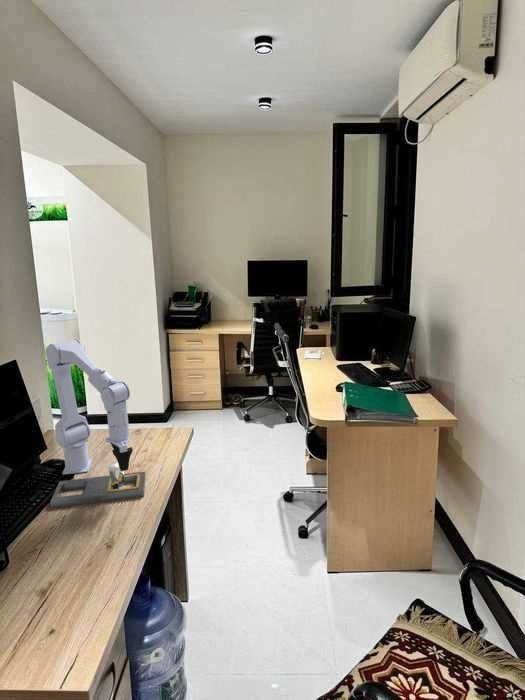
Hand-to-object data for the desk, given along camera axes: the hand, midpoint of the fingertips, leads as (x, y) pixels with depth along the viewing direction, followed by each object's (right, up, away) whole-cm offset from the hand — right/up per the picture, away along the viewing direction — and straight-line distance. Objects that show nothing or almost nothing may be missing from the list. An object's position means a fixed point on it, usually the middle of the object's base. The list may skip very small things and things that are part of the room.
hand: (122, 464), depth 140 cm
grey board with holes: (-7, -8, +1) cm, 11 cm away
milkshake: (-1, -8, +1) cm, 8 cm away
